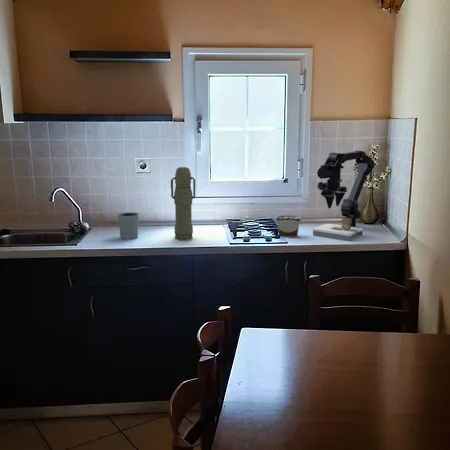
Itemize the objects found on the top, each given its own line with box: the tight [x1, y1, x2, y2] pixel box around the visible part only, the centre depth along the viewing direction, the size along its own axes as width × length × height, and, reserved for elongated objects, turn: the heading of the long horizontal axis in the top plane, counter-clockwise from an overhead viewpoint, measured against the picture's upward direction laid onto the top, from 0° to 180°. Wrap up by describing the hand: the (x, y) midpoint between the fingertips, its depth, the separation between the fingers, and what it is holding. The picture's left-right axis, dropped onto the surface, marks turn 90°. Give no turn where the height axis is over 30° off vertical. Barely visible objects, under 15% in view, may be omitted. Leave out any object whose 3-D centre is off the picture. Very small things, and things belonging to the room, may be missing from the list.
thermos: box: [170, 166, 196, 241], centre depth 260 cm, size 9×12×35 cm
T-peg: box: [341, 217, 351, 230], centre depth 268 cm, size 4×4×9 cm
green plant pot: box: [117, 212, 140, 241], centre depth 263 cm, size 10×10×12 cm
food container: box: [276, 214, 302, 238], centre depth 270 cm, size 12×6×10 cm, turn 84°
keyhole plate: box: [312, 223, 364, 242], centre depth 271 cm, size 16×20×4 cm
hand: (333, 207), depth 277 cm, fingers open, 9 cm apart
